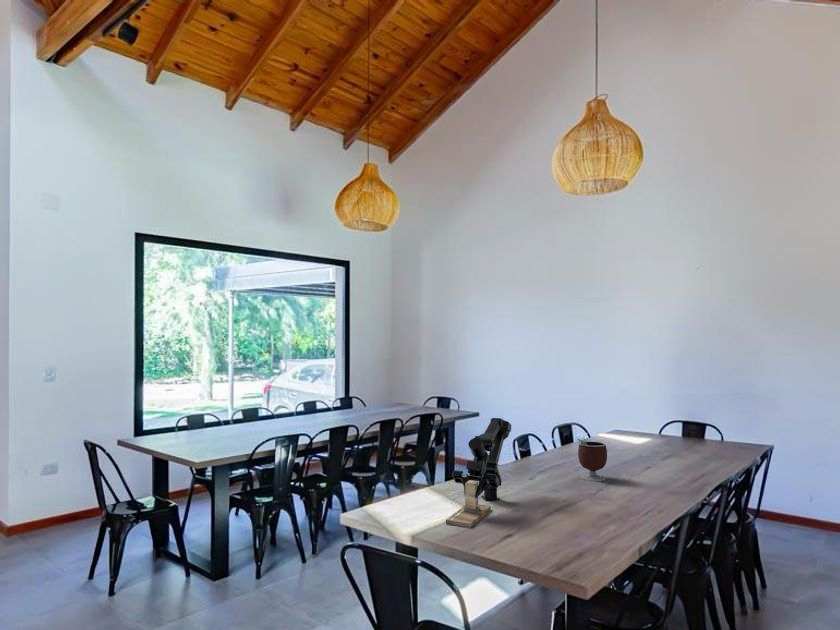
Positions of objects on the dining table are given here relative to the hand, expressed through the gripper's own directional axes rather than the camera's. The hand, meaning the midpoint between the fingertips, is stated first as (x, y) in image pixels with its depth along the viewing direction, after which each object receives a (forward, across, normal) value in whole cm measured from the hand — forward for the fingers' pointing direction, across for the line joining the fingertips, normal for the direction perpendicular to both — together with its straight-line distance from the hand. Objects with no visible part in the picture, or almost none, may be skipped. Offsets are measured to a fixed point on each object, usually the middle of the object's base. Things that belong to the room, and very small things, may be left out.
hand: (470, 497), depth 224 cm
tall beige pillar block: (+3, 0, +5) cm, 6 cm away
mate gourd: (-52, +35, +62) cm, 88 cm away
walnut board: (+6, 0, +4) cm, 7 cm away
